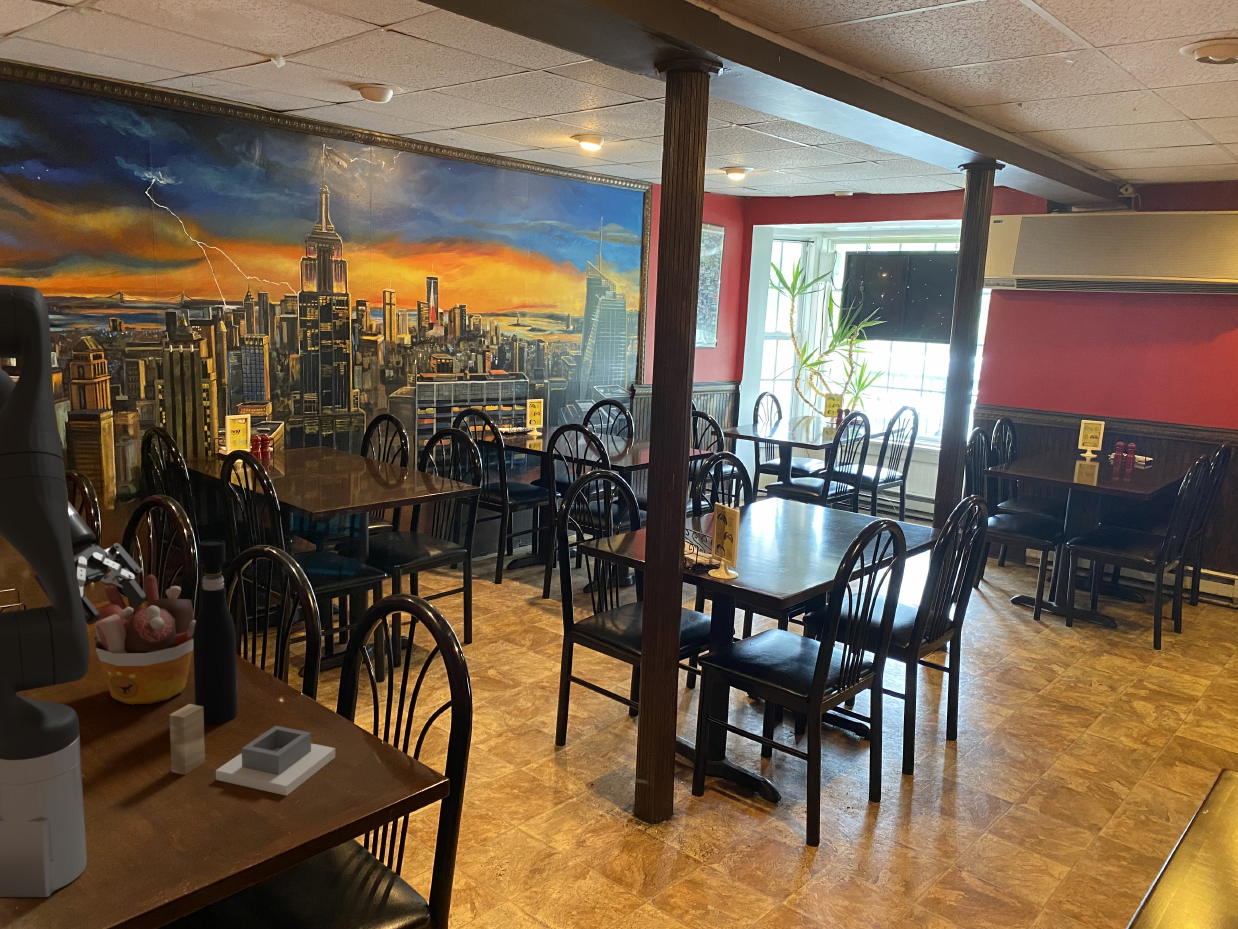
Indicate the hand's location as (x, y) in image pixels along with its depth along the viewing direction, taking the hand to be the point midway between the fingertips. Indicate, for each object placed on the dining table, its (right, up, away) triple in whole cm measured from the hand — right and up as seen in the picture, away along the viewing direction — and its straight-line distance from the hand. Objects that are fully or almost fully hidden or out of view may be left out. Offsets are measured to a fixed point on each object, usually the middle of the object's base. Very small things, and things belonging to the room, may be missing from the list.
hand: (119, 612), depth 136 cm
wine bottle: (+7, -20, +17) cm, 28 cm away
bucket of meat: (-9, -18, +25) cm, 32 cm away
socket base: (+23, -24, +2) cm, 33 cm away
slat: (+10, -23, +1) cm, 25 cm away
